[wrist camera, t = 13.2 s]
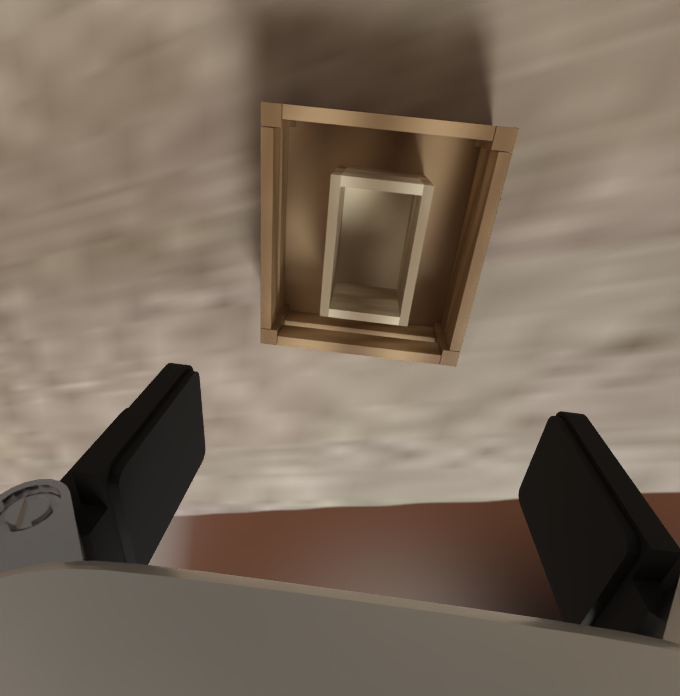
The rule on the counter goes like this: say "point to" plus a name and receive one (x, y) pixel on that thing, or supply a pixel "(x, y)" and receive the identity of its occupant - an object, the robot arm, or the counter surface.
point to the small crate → (373, 243)
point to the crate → (312, 211)
